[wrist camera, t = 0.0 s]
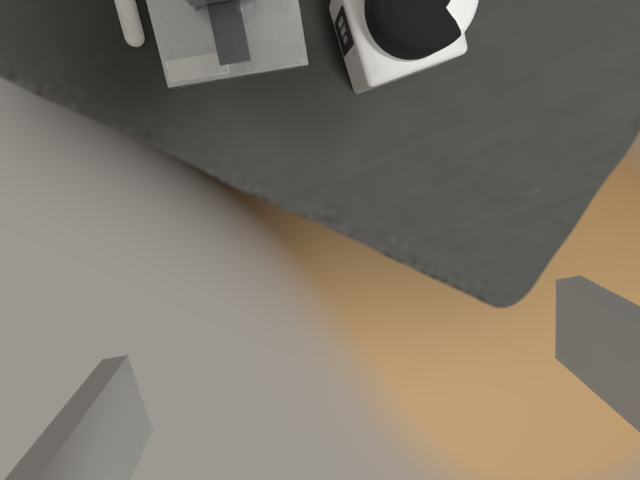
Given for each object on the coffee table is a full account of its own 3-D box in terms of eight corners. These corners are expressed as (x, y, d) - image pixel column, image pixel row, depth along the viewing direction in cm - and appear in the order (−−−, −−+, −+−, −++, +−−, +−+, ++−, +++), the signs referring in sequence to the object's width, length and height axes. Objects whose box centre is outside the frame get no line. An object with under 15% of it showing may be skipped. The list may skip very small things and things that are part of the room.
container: (354, 95, 37) (385, 80, 24) (327, 6, 35) (346, -62, 22) (434, 66, 37) (507, 36, 24) (412, -26, 34) (479, -112, 22)
